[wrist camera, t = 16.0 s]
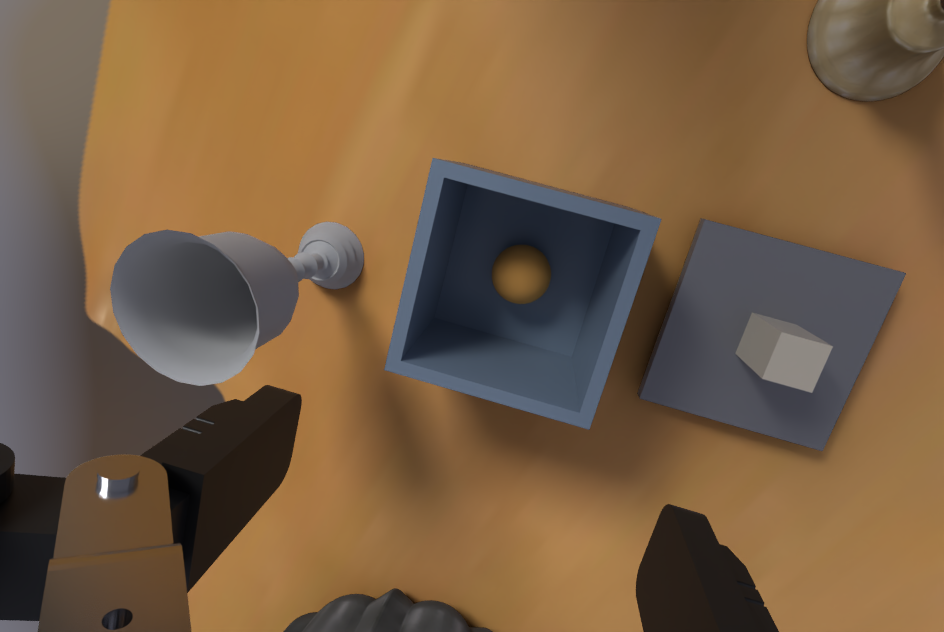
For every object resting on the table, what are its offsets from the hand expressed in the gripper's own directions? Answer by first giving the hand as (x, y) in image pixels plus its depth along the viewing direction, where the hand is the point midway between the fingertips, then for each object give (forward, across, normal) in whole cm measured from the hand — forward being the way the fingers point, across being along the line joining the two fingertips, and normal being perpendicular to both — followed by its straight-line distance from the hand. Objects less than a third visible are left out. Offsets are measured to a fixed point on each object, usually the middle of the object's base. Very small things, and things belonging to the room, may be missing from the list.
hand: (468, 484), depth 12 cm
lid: (+30, -17, 0) cm, 35 cm away
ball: (+27, 0, 0) cm, 27 cm away
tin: (+30, 0, 0) cm, 30 cm away
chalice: (+30, +14, +3) cm, 34 cm away
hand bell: (+30, -17, -20) cm, 40 cm away
